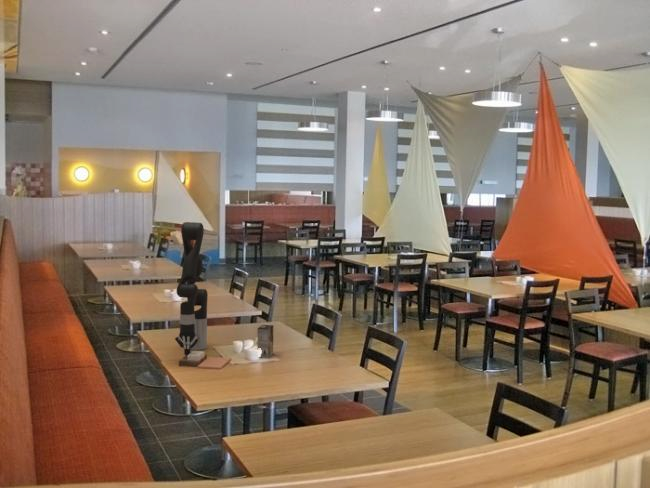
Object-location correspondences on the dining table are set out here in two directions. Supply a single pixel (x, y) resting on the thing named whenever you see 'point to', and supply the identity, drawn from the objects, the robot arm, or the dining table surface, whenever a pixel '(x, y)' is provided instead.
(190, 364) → the walnut deck
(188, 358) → the cream tile
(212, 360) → the terracotta mat
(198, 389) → the dining table surface
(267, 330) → the coffee box
